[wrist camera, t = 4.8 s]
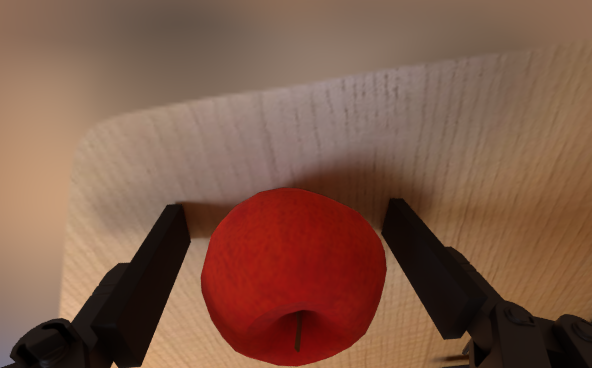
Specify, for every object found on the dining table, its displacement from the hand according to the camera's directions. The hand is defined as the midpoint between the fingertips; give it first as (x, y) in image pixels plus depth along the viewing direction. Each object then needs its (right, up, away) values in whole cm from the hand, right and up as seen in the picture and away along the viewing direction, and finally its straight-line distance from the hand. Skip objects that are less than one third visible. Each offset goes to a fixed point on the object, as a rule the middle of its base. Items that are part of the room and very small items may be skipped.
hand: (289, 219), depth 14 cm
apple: (0, 0, 0) cm, 0 cm away
